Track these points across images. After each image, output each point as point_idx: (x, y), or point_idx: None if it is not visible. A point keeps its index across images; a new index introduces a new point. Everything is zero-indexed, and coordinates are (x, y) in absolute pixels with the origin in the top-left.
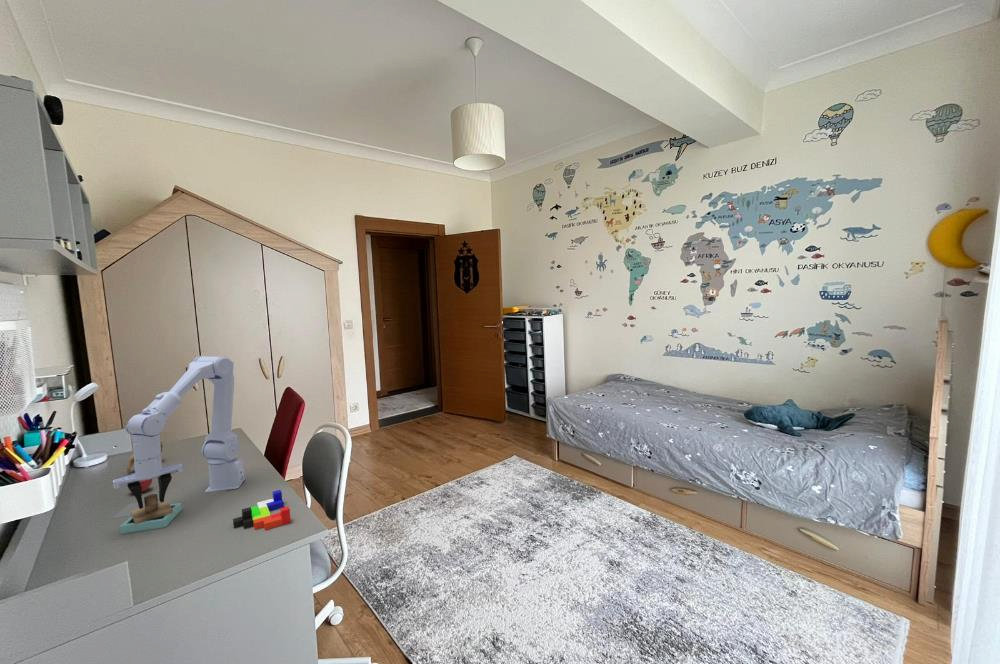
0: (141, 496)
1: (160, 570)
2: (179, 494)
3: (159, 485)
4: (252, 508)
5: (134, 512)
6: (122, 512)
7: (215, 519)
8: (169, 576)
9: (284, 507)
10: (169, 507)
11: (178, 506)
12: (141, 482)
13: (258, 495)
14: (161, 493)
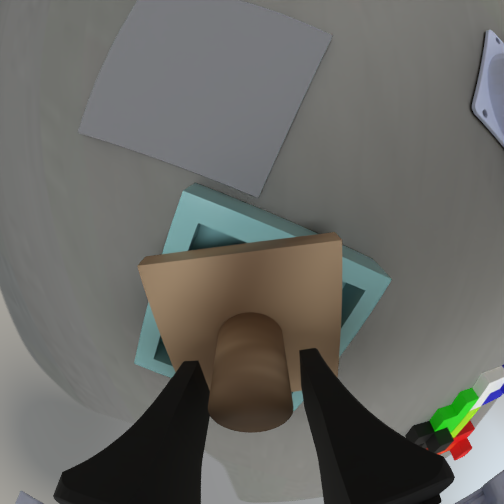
0: (200, 470)
1: (262, 486)
2: (374, 12)
3: (326, 458)
4: (466, 406)
5: (163, 309)
6: (112, 78)
7: (410, 390)
8: (272, 494)
9: (467, 450)
10: (331, 359)
11: (369, 310)
12: None
13: None
14: (316, 444)
